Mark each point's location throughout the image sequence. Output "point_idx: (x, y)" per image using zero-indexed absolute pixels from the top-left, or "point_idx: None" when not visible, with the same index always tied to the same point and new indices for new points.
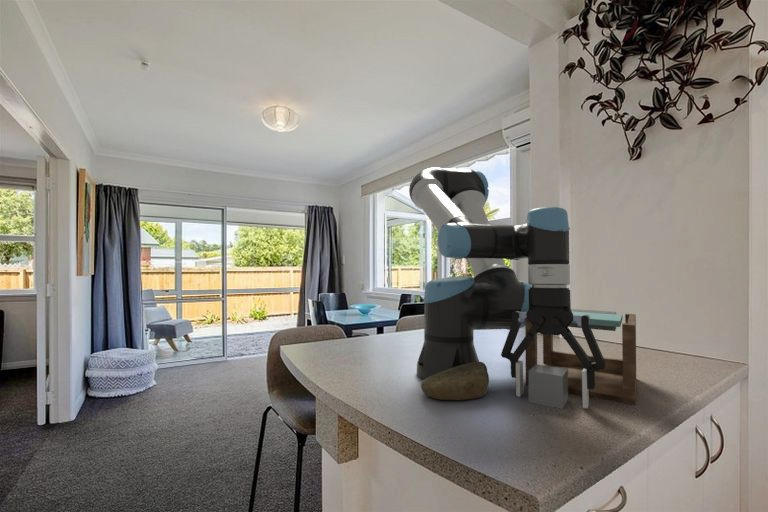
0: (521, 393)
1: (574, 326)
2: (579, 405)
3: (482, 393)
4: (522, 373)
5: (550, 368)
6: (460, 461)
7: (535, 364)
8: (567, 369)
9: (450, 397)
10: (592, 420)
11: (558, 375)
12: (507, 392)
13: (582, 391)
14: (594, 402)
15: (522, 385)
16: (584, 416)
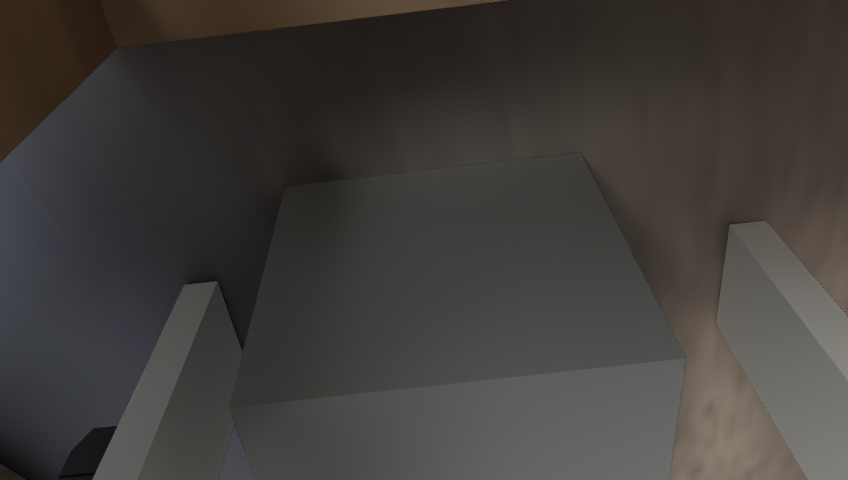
0: (233, 347)
1: None
2: (684, 236)
3: None
4: (170, 445)
5: (474, 463)
6: None
7: (234, 421)
8: (682, 371)
9: None
10: (761, 419)
11: None
12: (105, 326)
13: (773, 417)
14: (817, 75)
15: (207, 360)
16: (717, 396)
